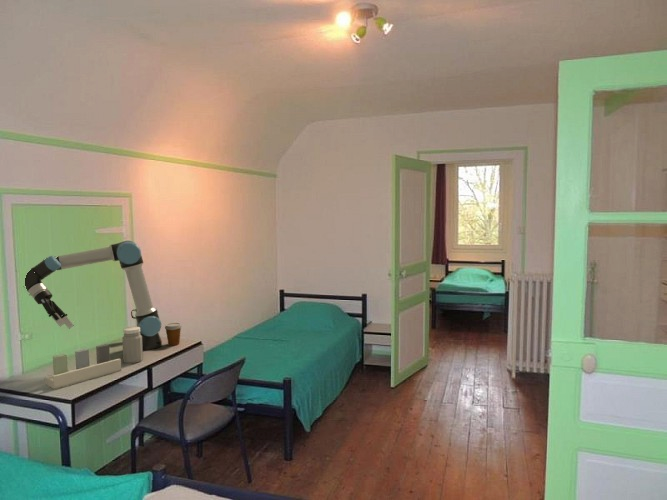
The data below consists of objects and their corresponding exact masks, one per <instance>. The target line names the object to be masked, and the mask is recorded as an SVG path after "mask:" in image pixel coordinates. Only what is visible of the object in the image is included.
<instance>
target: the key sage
mask: <svg viewBox="0 0 667 500" xmlns="http://www.w3.org/2000/svg"><path fill="white" fill-rule="evenodd" d="M67 356H68V354H66V353H61V354H58V355H52V365H53V366H52V367H53V368H52V369H53V376H54V375H58V374H62V373H66V372H68V371H69V369H68V357H67Z"/></svg>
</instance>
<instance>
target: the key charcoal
mask: <svg viewBox="0 0 667 500" xmlns="http://www.w3.org/2000/svg"><path fill="white" fill-rule="evenodd" d="M95 348H96V349H95V350H96V364H100V363H104V362H108V361H110V360H111V359H110V345H109V344H108V343H104V344H100V345H97V346H95Z"/></svg>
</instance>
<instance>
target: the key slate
mask: <svg viewBox="0 0 667 500" xmlns="http://www.w3.org/2000/svg"><path fill="white" fill-rule="evenodd" d="M74 355H75V357H74V358H75V370H77V369H81V368H85V367H89V365H90V351H89V349H87V348H82V349H79V350H74Z"/></svg>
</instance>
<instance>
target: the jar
mask: <svg viewBox="0 0 667 500" xmlns="http://www.w3.org/2000/svg"><path fill="white" fill-rule="evenodd" d="M121 339H122V340H121V341H122V354H123V355H122V357H123V358H122V360H123V362H124V363H125V364H130V365H131V364H138V363H140V362H142V361H143V359H144V353H143V351H144V350H143V347H142V336H141V333H140V327H137V326H127V327H124V328H123V337H122V338H121Z"/></svg>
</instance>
